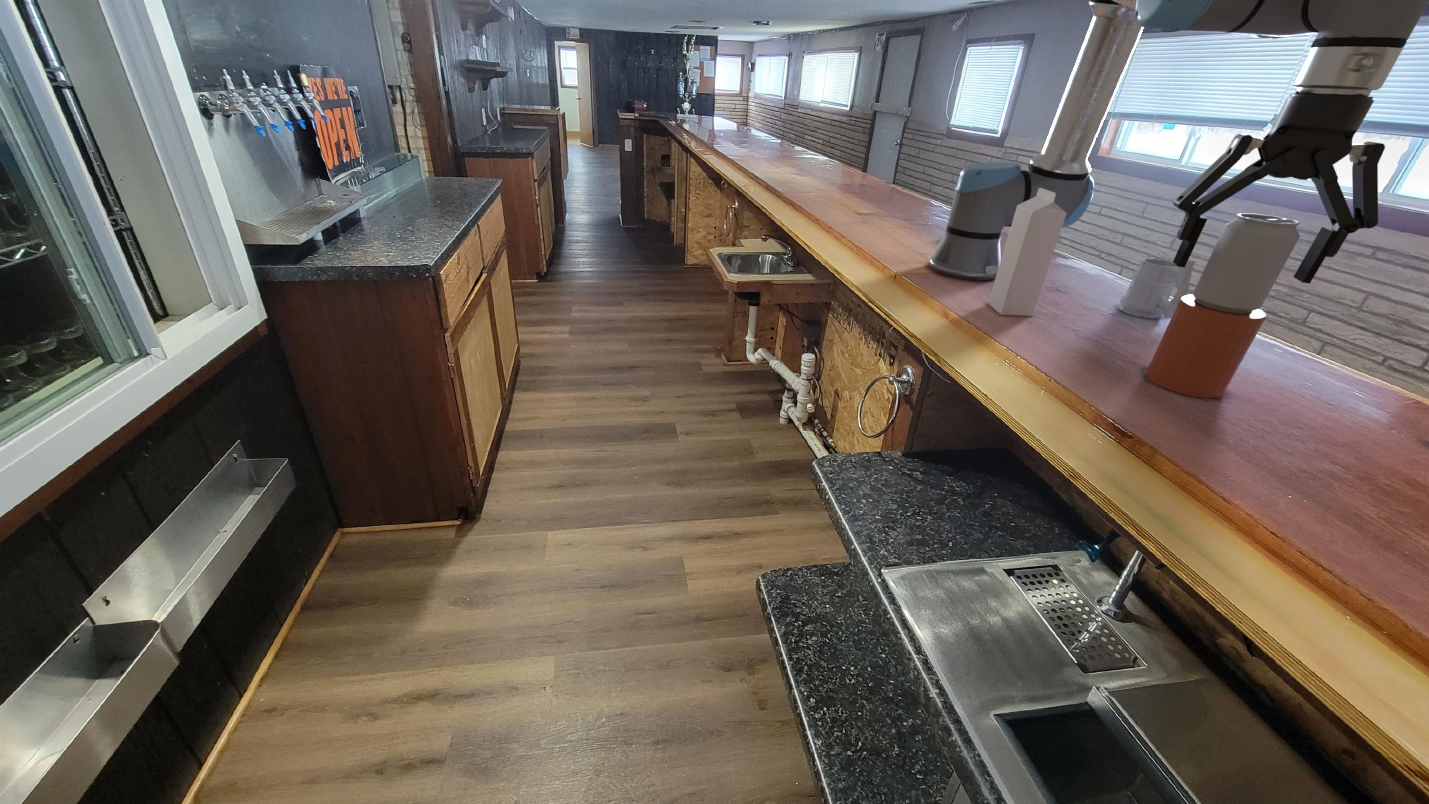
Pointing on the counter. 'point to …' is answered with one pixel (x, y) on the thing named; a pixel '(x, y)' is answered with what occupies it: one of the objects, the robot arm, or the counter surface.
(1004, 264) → the milk
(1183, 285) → the mug
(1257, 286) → the can
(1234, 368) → the jar
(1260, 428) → the counter surface
